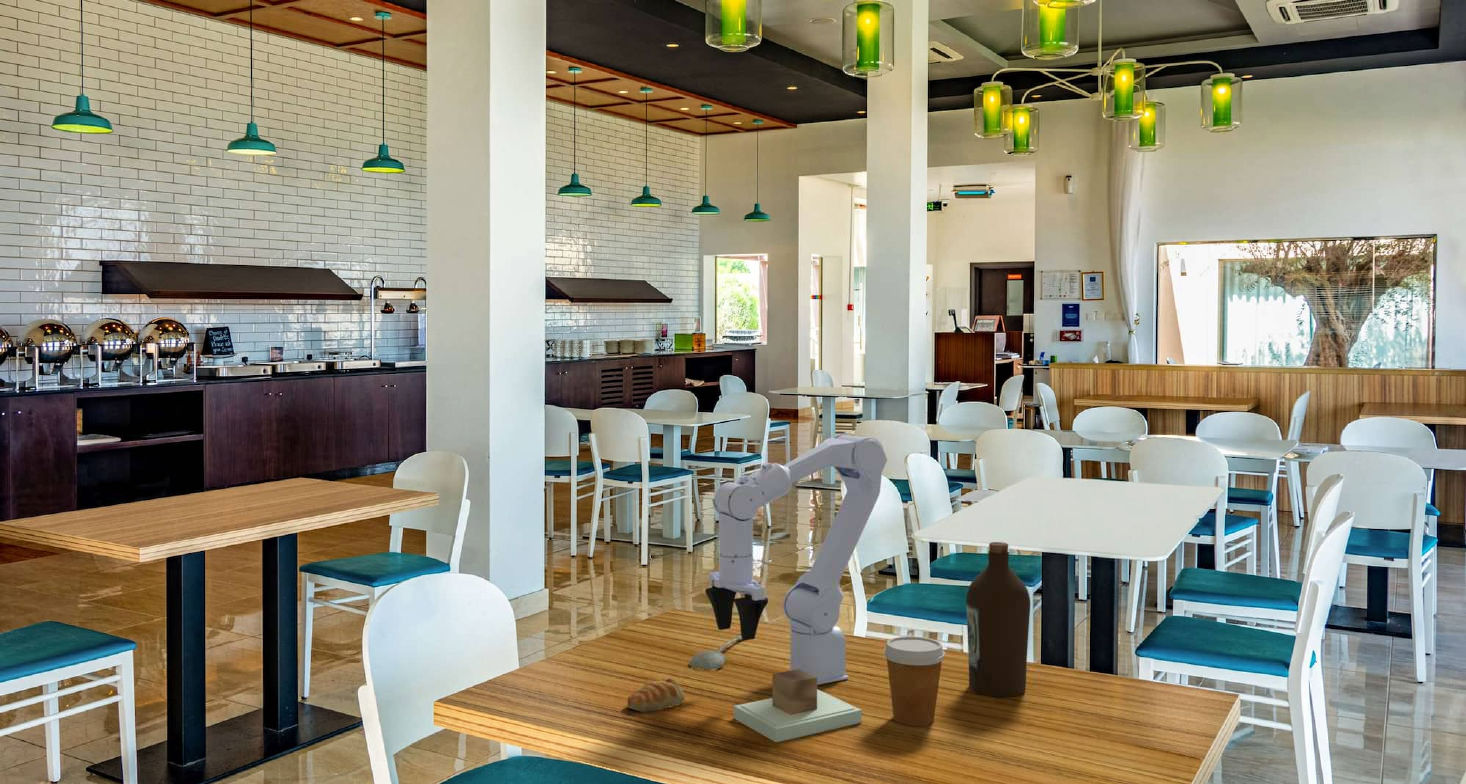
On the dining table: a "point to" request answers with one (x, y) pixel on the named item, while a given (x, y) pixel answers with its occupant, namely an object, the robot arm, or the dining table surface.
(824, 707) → the serving board
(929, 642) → the disposable coffee cup
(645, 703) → the pastry
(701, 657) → the soupspoon
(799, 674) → the walnut block
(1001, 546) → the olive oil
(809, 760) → the dining table surface
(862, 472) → the robot arm
